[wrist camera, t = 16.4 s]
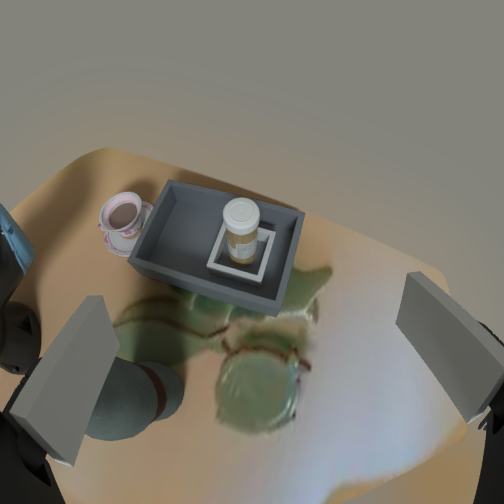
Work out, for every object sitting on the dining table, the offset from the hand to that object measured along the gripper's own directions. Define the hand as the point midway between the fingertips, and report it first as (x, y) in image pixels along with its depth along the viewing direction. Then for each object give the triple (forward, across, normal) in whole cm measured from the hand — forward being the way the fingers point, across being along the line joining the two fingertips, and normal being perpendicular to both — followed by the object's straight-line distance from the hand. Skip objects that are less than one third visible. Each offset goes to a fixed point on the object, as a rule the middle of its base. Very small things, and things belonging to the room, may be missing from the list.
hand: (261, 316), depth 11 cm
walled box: (+35, -4, -11) cm, 37 cm away
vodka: (+19, -15, -27) cm, 36 cm away
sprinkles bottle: (+34, 0, -11) cm, 35 cm away
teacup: (+40, -21, -7) cm, 45 cm away
